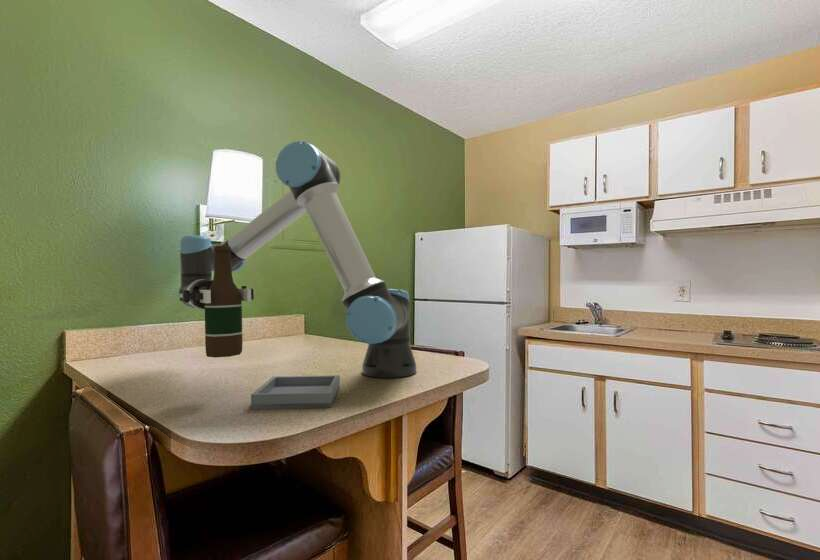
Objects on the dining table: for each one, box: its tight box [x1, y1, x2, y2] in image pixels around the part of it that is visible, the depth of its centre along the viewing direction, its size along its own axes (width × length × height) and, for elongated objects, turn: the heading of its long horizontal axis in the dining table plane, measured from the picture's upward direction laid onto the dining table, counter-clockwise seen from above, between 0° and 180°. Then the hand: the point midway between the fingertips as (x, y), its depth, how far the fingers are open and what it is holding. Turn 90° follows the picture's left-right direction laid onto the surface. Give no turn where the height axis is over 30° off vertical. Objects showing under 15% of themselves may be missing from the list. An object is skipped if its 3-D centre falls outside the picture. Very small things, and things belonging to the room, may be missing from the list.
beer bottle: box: [204, 244, 243, 358], centre depth 94 cm, size 8×8×24 cm
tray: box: [250, 374, 341, 410], centre depth 94 cm, size 16×16×3 cm
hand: (229, 295), depth 90 cm, fingers closed on beer bottle, 7 cm apart
